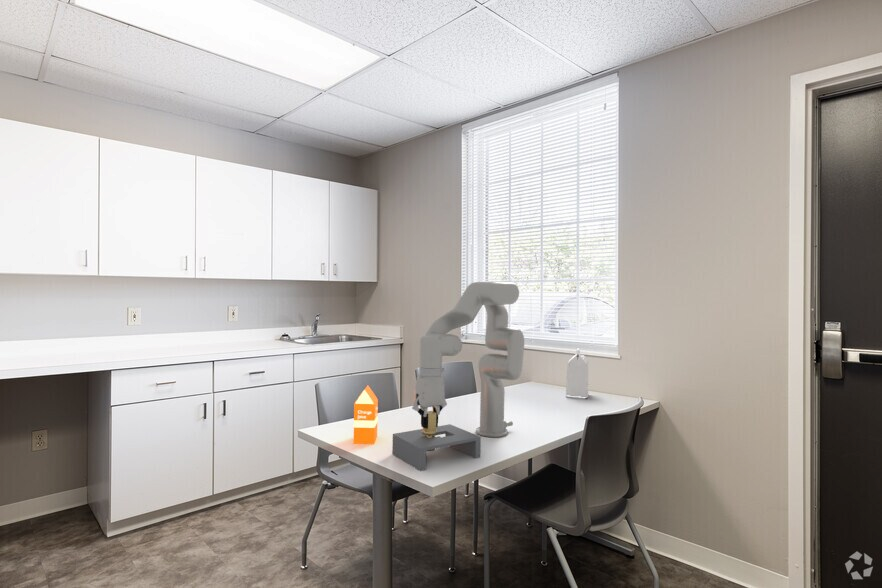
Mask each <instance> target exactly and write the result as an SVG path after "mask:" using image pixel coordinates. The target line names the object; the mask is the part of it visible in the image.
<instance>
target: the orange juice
mask: <svg viewBox="0 0 882 588" xmlns="http://www.w3.org/2000/svg"><path fill="white" fill-rule="evenodd" d="M378 403H379V399H378V398H377V396H376V394H375V393H374V391H373V390H372V389H371V387H370V386H369V385H367V386H366V387H365V388H364V390H363V391H362V392H361V393H360V395H359V396H358V398H357V399H356V400H355V402H354V403H353V445H354V444H356V445H375V443H376V441H377V439H376V438H378V422H379V421H378V420H379V419H378V418H379V417H378V416H379V415H378V411H379V405H378Z"/></svg>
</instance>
